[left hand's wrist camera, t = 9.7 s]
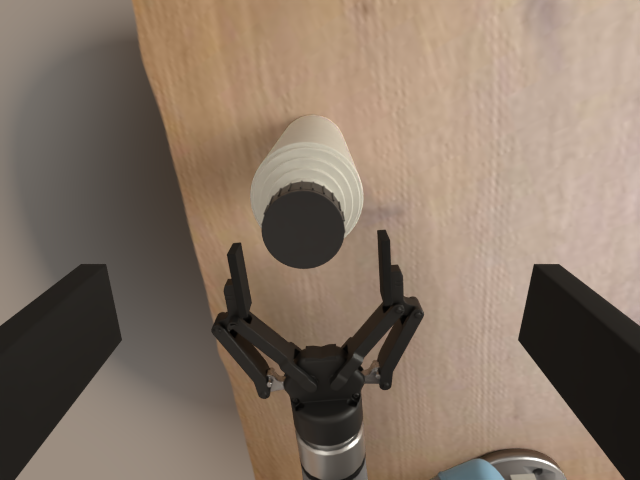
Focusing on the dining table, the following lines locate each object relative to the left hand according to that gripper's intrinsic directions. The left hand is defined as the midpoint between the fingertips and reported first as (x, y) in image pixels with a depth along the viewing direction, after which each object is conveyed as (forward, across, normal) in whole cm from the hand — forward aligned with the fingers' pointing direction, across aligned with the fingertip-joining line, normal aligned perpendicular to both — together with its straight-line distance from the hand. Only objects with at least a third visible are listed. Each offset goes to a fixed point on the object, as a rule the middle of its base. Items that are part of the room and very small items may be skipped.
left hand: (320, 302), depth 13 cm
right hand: (+23, -1, -7) cm, 24 cm away
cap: (+6, -1, 0) cm, 6 cm away
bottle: (+30, -1, 0) cm, 30 cm away
